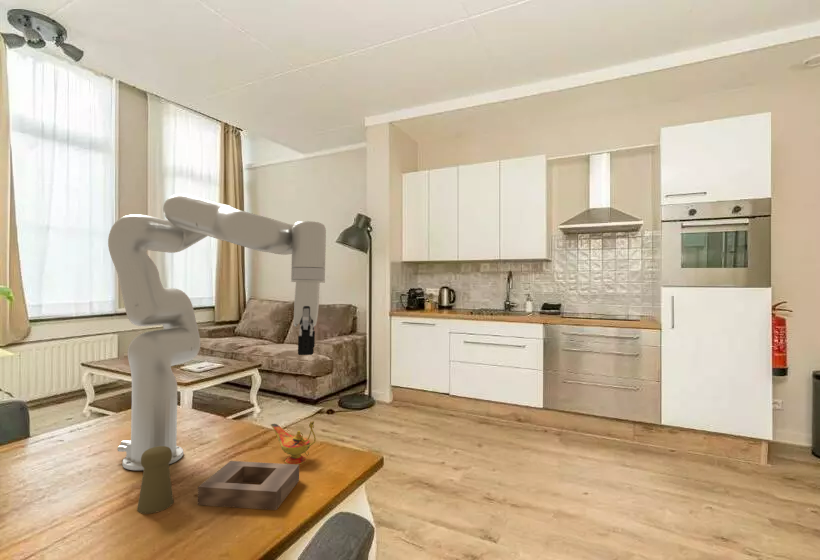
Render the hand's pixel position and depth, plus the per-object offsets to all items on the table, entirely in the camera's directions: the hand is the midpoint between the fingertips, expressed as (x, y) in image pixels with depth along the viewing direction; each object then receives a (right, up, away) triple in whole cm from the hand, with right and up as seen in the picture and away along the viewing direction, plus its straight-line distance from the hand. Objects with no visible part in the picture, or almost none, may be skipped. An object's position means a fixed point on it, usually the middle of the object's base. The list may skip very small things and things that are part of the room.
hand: (306, 351), depth 93 cm
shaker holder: (-9, -28, -8) cm, 31 cm away
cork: (-26, -28, -13) cm, 41 cm away
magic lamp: (-6, -29, +9) cm, 30 cm away
